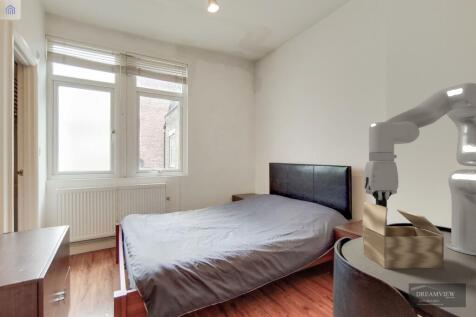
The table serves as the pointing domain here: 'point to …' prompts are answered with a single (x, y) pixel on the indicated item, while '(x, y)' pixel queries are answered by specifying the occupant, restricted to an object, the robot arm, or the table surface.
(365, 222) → the flap
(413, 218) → the flap
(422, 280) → the table surface
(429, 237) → the carton
